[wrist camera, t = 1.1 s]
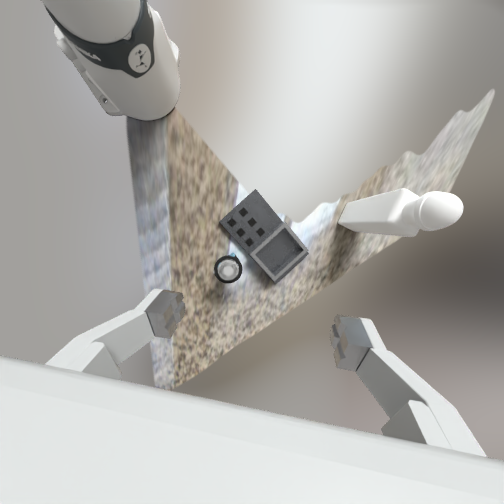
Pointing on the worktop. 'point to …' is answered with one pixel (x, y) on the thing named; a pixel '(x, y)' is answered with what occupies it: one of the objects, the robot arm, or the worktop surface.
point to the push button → (228, 269)
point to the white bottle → (401, 213)
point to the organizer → (264, 236)
